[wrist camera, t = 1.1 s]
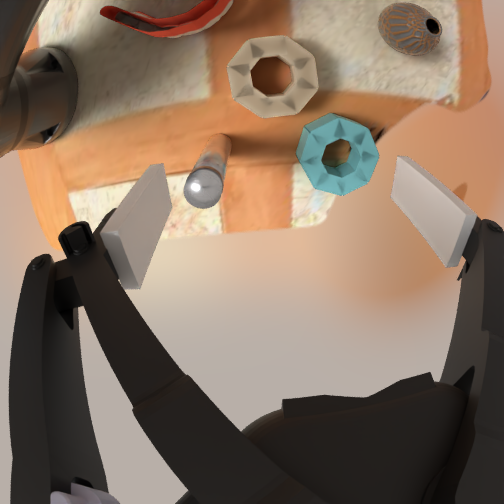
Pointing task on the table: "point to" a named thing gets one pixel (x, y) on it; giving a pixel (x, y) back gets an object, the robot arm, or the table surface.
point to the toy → (171, 19)
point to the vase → (409, 28)
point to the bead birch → (276, 103)
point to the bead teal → (345, 174)
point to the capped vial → (209, 173)
